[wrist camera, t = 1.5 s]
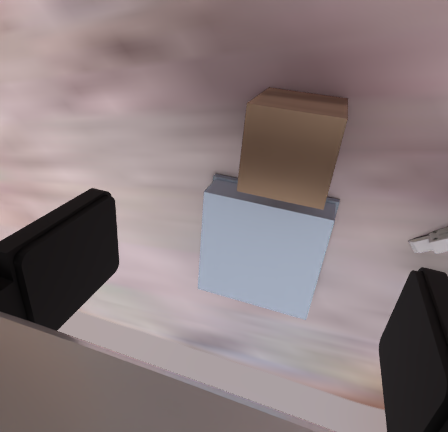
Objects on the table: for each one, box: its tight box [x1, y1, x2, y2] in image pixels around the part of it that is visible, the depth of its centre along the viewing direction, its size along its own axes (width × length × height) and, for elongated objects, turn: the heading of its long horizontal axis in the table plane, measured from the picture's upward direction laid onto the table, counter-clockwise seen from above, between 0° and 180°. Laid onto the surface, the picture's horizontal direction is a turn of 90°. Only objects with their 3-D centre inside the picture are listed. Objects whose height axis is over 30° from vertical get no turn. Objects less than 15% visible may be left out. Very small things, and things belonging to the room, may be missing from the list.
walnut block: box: [237, 87, 348, 210], centre depth 21 cm, size 5×5×6 cm
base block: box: [198, 174, 340, 320], centre depth 27 cm, size 9×9×3 cm
